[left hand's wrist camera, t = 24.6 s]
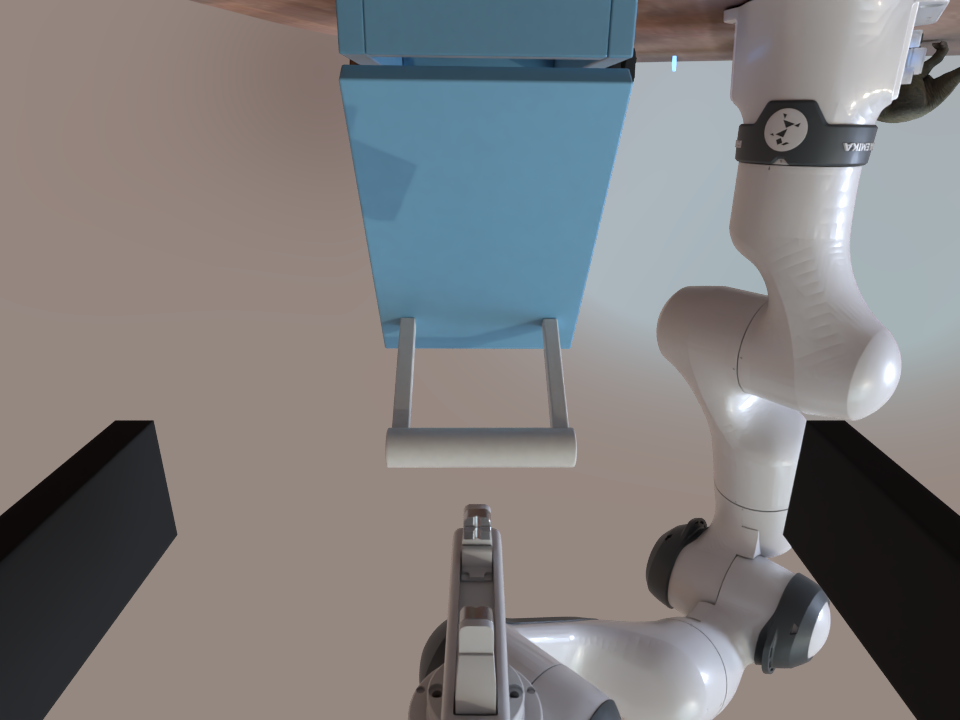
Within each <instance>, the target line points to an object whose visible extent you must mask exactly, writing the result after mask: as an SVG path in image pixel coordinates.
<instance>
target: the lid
mask: <svg viewBox="0 0 960 720" xmlns="http://www.w3.org/2000/svg"><path fill="white" fill-rule="evenodd" d="M339 84H340V89H341V95H342V101H343V106H344V112H345V118H346V124H347V130H348V135H349V141H350V147H351V153H352V159H353V164H354V170H355V176H356V182H357V187H358V193H359V199H360V205H361V210H362V216H363V222H364V228H365V234H366V239H367V245H368V251H369V257H370V262H371V268H372V274H373V279H374V285H375V291H376V297H377V303H378V309H379V314H380V320H381V326H382V332H383V337H384V343H385V347H386V348H398V357H397V371H396V384H395V397H394V409H393V423H392V428H388V430H387V435H386V464H387V467H574V466H575V463H576V455H577V444H576V435H575V431H574V429H573V428H569V423H568V414H567V405H566V395H565V386H564V377H563V367H562V358H561V349H570V348H571V344H572V340H573V335H574V331H575V327H576V323H577V318H578V314H579V310H580V306H581V302H582V297H583V293H584V289H585V285H586V280H587V276H588V272H589V268H590V263H591V259H592V255H593V251H594V247H595V242H596V238H597V234H598V230H599V225H600V221H601V217H602V213H603V208H604V204H605V200H606V196H607V192H608V187H609V183H610V179H611V175H612V170H613V166H614V162H615V158H616V153H617V149H618V145H619V141H620V137H621V132H622V128H623V124H624V119H625V115H626V111H627V107H628V103H629V99H630V94H631V90H632V86H633V81H632V78H631V74H630V70H629V69H623V68H550V67H476V66H403V65H342V67H341V72H340V77H339ZM415 348H492V349H493V348H494V349H495V348H497V349H499V348H500V349H502V348H503V349H544V358H545V369H546V381H547V392H548V403H549V415H550V426H551V428H410V420H411V403H412V386H413V369H414V352H415Z"/></svg>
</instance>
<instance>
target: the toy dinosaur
mask: <svg viewBox="0 0 960 720" xmlns="http://www.w3.org/2000/svg"><path fill="white" fill-rule="evenodd" d="M932 46H933V47H934V48H935V49H937V51H936V53H935V54H934V55H933V56H932V57H931V58H930V59H928V60H927V61H925V62H924V64H923V68H922V72H921V74H916V75H913V78H912V81H911V84H901V86H900V90H899V95H898V98H896V99H894V100H892V103H891V104H890V105H888V106H887V107H885V108H884V109H883V110H882V111H881V113H880V115H879V116H878V118H877V120H878V121H881V122H886V123H899V122H906V121H910V120H913V119H917V118H919V117H922V116H924V115H925V114H927V113H929V112H931V111H932V110H933V109H935V108H936V107H937V106H939V105H940V104H941V103H942V102H943V101H944V100H945V99H946V98H947V97H948V96H949V95H950V94H951V92H952V91H953V90H954V89H955V87H956V86H957V85H958V84H959V82H960V67H959V68H957V69H955V70H953V71H950V72H948V73H945V74H943V75H942V76H940V77H937V78H935V79H933V78H932V77H931V76H930V75H928V74H929V72H930V71H931V70H932V68H933V67H934V66H936V65H937V64H939V63H940V62H941V61H942V60H943V58H944V57H945V55H946V54H947V52H948V50H949V48H948V45H947V43H946V42H944V41H941V43H932ZM915 48H921V46H919V47H915ZM909 49H911V48H909ZM913 49H914V47H913Z"/></svg>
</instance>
